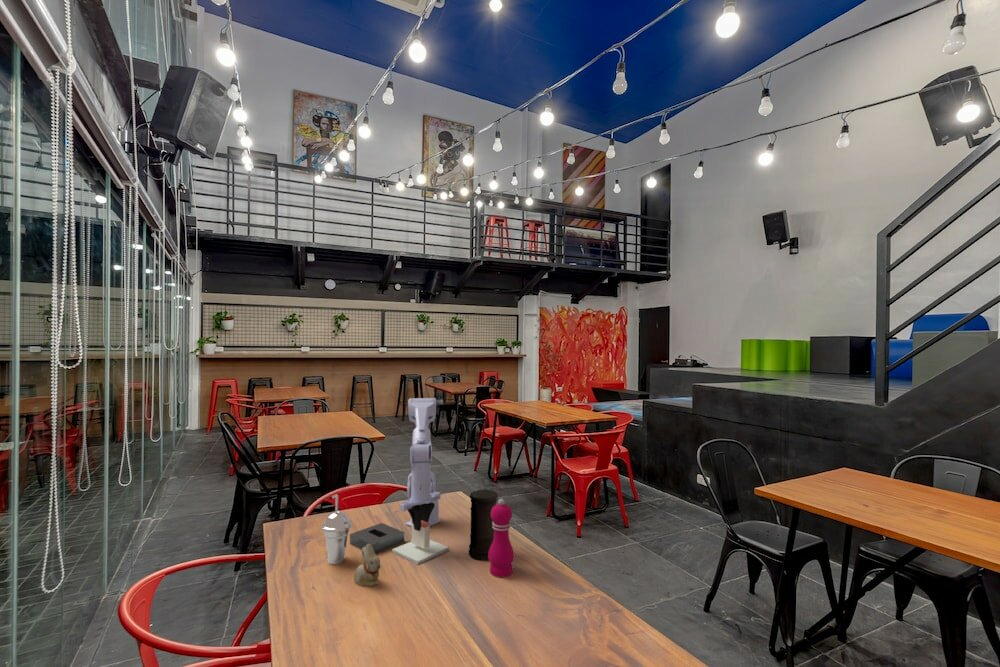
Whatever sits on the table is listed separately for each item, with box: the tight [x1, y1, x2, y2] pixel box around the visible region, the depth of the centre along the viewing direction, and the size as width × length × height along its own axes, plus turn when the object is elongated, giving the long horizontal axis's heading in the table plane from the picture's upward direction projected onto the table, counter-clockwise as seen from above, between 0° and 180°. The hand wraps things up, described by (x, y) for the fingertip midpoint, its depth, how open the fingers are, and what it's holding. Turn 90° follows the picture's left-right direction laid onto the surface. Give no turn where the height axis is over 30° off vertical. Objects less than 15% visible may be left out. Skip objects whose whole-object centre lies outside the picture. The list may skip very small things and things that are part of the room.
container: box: [468, 489, 499, 561], centre depth 136 cm, size 9×9×18 cm
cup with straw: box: [320, 493, 353, 565], centre depth 131 cm, size 8×9×20 cm
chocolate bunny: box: [353, 544, 381, 588], centre depth 119 cm, size 6×8×10 cm
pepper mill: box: [488, 498, 515, 578], centre depth 125 cm, size 7×7×20 cm
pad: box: [391, 539, 449, 565], centre depth 137 cm, size 12×12×1 cm
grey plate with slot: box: [349, 522, 405, 555], centre depth 143 cm, size 12×12×3 cm
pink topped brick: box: [411, 520, 431, 549], centre depth 138 cm, size 2×6×7 cm, turn 50°
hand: (420, 528), depth 138 cm, fingers closed on pink topped brick, 2 cm apart
